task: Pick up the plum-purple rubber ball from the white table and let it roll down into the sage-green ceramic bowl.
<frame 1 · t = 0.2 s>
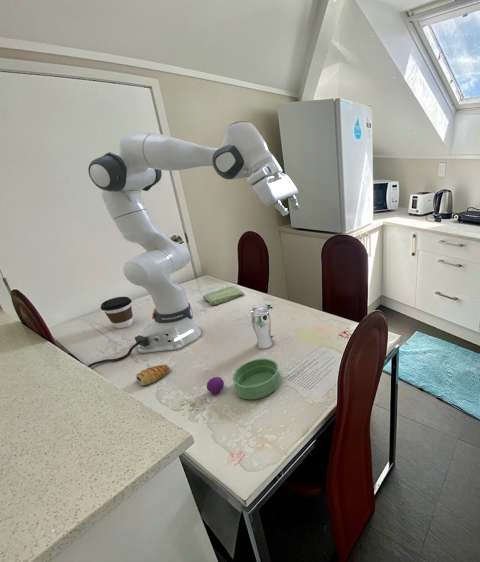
hand: (292, 212, 102), 54 cm above the table, tool tilted 30°, fingers open, 8 cm apart
ball: (217, 390, 103), on the table
pastry: (152, 378, 109), on the table
coffee cup: (124, 325, 142), on the table
washcloth: (224, 297, 167), on the table
beer glass: (265, 344, 127), on the table
bowl: (258, 385, 105), on the table
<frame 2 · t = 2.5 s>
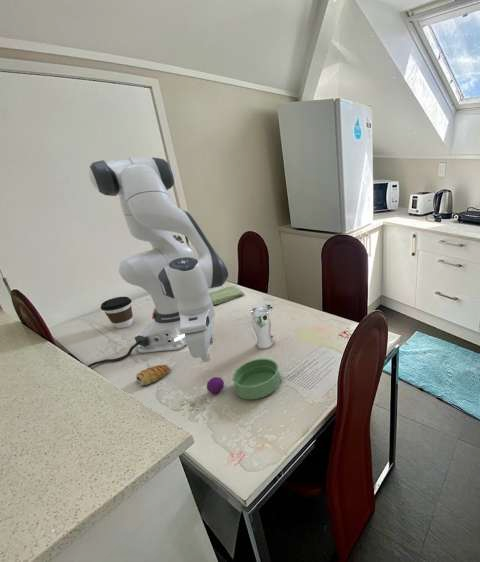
hand: (208, 351, 97), 16 cm above the table, tool pointing down, fingers open, 8 cm apart
nothing on the table moved.
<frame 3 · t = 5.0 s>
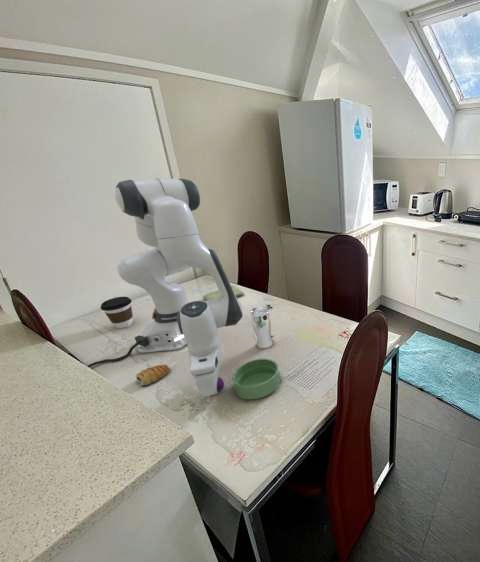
hand: (216, 386, 102), 2 cm above the table, tool pointing down, fingers closed on ball, 5 cm apart
ball: (217, 390, 103), on the table, touching gripper
everything else where it was.
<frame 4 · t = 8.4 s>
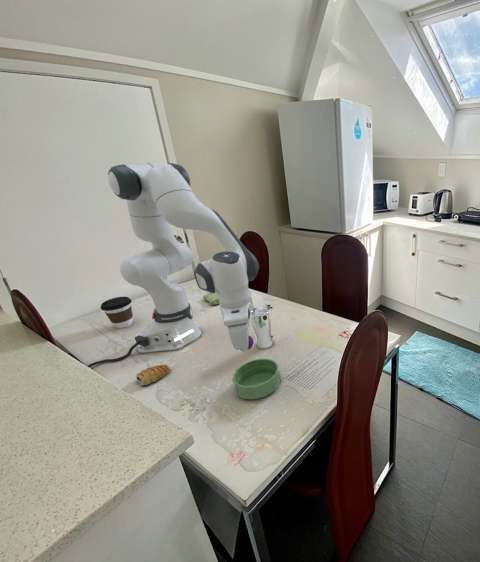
hand: (245, 344, 98), 17 cm above the table, tool pointing down, fingers closed on ball, 5 cm apart
ball: (246, 349, 99), point 15 cm above the table, touching gripper
everything else where it was.
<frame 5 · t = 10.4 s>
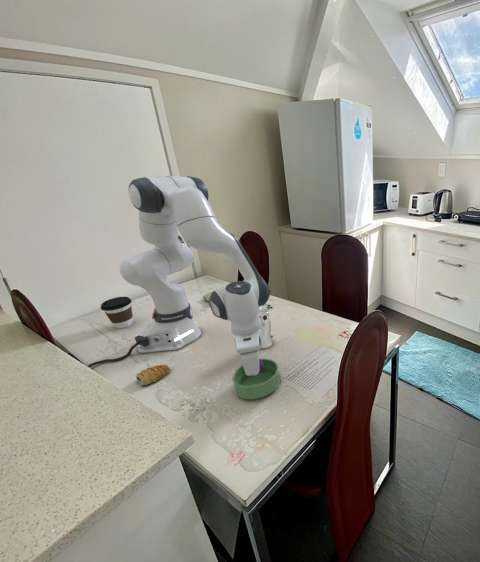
hand: (255, 368, 102), 7 cm above the table, tool pointing down, fingers closed on ball, 5 cm apart
ball: (256, 372, 103), point 5 cm above the table, touching gripper
everything else where it was.
when the fingers open (3 cm above the table, at t = 12.2 s): ball stays where it is, resting on bowl.
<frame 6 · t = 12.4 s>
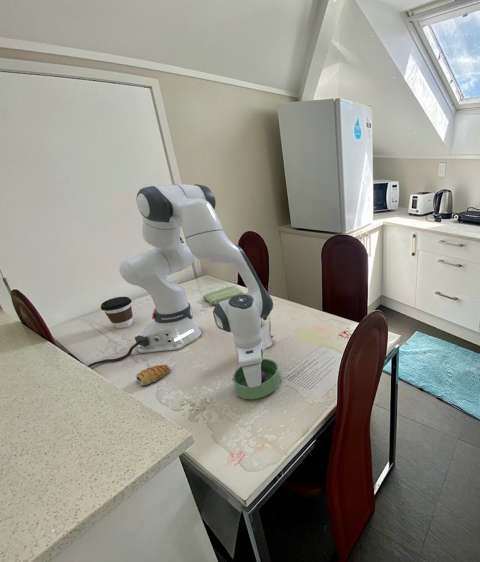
hand: (257, 378, 104), 3 cm above the table, tool pointing down, fingers open, 6 cm apart
ball: (258, 383, 105), point 1 cm above the table, touching bowl
everything else where it was.
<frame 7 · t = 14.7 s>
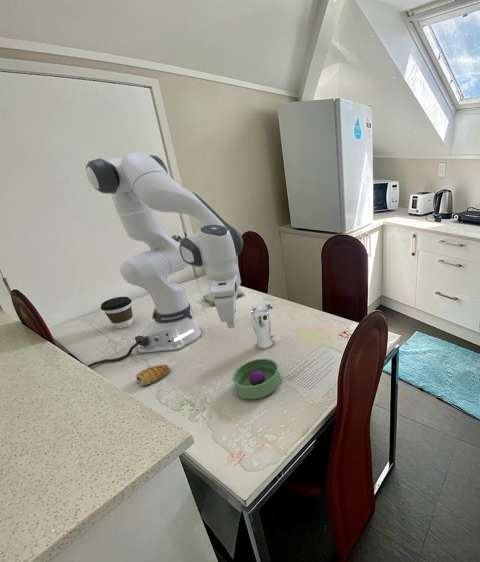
hand: (232, 319, 99), 23 cm above the table, tool pointing down, fingers open, 8 cm apart
nothing on the table moved.
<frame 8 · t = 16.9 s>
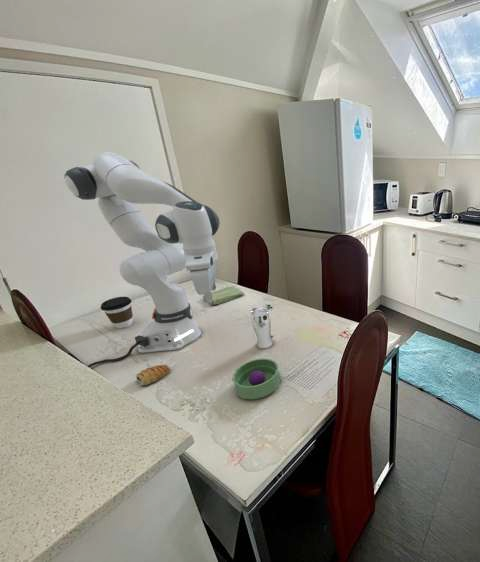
hand: (211, 295, 102), 29 cm above the table, tool pointing down, fingers open, 8 cm apart
nothing on the table moved.
at the end: ball inside the target area in the bowl (0.0 cm from its centre), point 0.6 cm above the bowl's base; the gripper is holding nothing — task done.
